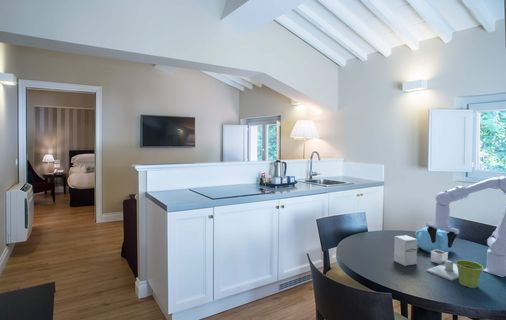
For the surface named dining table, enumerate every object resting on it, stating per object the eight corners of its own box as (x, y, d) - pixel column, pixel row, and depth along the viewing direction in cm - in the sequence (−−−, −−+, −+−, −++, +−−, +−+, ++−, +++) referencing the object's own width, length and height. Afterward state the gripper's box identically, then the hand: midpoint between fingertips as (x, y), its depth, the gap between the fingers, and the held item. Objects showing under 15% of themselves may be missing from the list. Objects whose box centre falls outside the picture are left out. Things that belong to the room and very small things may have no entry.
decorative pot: (426, 243, 180) (427, 220, 179) (456, 251, 166) (457, 226, 165) (410, 249, 171) (411, 224, 170) (441, 257, 158) (441, 231, 157)
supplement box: (404, 266, 147) (405, 240, 147) (393, 260, 154) (394, 235, 154) (417, 264, 149) (417, 239, 149) (405, 259, 156) (406, 234, 156)
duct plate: (448, 263, 150) (449, 253, 150) (473, 271, 141) (474, 261, 140) (426, 271, 141) (427, 261, 141) (451, 280, 132) (452, 269, 131)
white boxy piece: (436, 259, 156) (437, 249, 156) (447, 262, 151) (448, 252, 151) (430, 261, 153) (430, 251, 153) (441, 264, 148) (441, 254, 148)
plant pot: (471, 279, 133) (471, 259, 132) (488, 290, 123) (489, 268, 123) (449, 280, 132) (450, 260, 132) (465, 290, 123) (466, 269, 123)
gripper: (422, 215, 153) (422, 242, 153) (453, 221, 140) (452, 250, 141) (431, 213, 156) (430, 239, 157) (462, 219, 143) (461, 248, 144)
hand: (441, 244), depth 149 cm, fingers open, 7 cm apart
